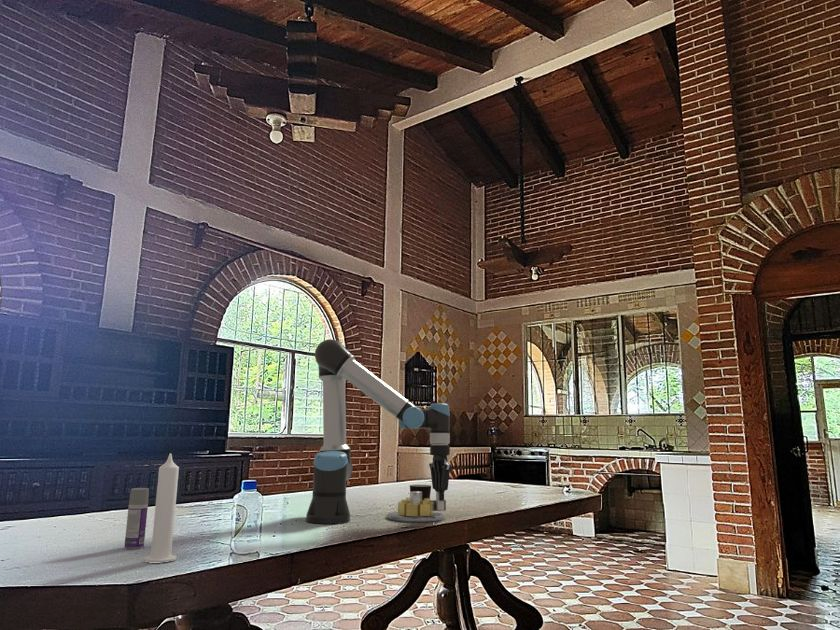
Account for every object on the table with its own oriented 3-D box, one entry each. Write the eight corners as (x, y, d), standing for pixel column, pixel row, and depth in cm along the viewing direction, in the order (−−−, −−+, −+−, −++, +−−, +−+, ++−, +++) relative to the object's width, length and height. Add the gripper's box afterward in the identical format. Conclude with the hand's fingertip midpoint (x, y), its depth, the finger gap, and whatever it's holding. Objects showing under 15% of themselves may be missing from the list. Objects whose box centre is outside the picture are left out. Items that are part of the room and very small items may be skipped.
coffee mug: (428, 513, 227) (429, 486, 229) (407, 512, 229) (407, 486, 231) (434, 509, 238) (434, 484, 240) (413, 509, 240) (413, 483, 242)
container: (138, 545, 159) (144, 487, 162) (147, 547, 156) (152, 488, 159) (120, 547, 155) (127, 488, 158) (129, 550, 152) (135, 490, 155)
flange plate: (384, 522, 205) (384, 494, 207) (389, 513, 226) (390, 488, 227) (444, 523, 204) (444, 495, 206) (444, 514, 225) (444, 489, 226)
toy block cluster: (410, 517, 207) (410, 501, 208) (392, 512, 217) (392, 498, 218) (453, 513, 217) (453, 499, 218) (434, 509, 227) (434, 495, 228)
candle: (180, 557, 145) (189, 453, 150) (169, 563, 138) (179, 454, 143) (151, 557, 145) (161, 452, 149) (139, 563, 138) (150, 453, 142)
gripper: (457, 444, 220) (457, 511, 215) (440, 444, 231) (440, 507, 226) (439, 444, 216) (439, 512, 211) (423, 444, 227) (423, 508, 223)
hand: (440, 509), depth 219 cm, fingers closed
